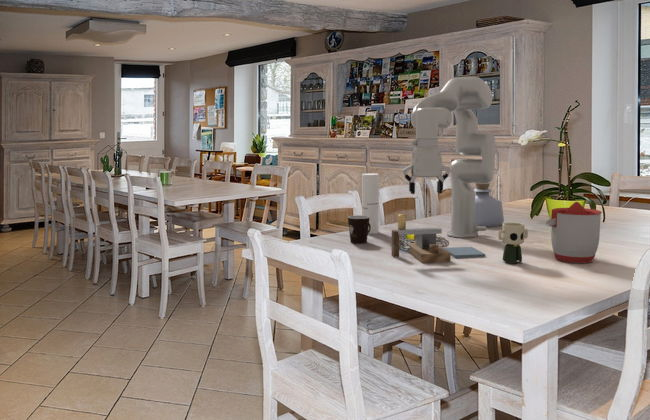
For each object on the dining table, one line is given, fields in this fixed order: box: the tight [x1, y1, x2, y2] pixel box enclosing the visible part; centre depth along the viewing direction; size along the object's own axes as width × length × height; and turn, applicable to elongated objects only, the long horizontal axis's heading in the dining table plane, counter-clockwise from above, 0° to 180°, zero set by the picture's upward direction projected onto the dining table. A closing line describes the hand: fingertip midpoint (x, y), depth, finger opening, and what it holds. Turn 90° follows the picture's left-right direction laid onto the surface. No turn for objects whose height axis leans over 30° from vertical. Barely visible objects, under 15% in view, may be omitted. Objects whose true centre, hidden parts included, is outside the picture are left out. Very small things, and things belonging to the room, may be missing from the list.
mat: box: [442, 246, 486, 259], centre depth 220 cm, size 11×13×1 cm
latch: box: [397, 213, 443, 236], centre depth 207 cm, size 15×3×7 cm, turn 97°
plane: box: [391, 229, 452, 264], centre depth 217 cm, size 17×24×9 cm
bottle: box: [473, 182, 505, 228], centre depth 282 cm, size 20×20×19 cm
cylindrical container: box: [361, 172, 380, 235], centre depth 262 cm, size 7×7×25 cm
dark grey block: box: [416, 234, 437, 249], centre depth 217 cm, size 5×8×6 cm, turn 7°
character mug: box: [497, 222, 529, 264], centre depth 205 cm, size 11×7×13 cm, turn 106°
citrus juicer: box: [545, 201, 603, 264], centre depth 207 cm, size 16×17×20 cm
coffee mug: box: [347, 214, 371, 245], centre depth 240 cm, size 12×9×10 cm
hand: (426, 193), depth 215 cm, fingers open, 9 cm apart
